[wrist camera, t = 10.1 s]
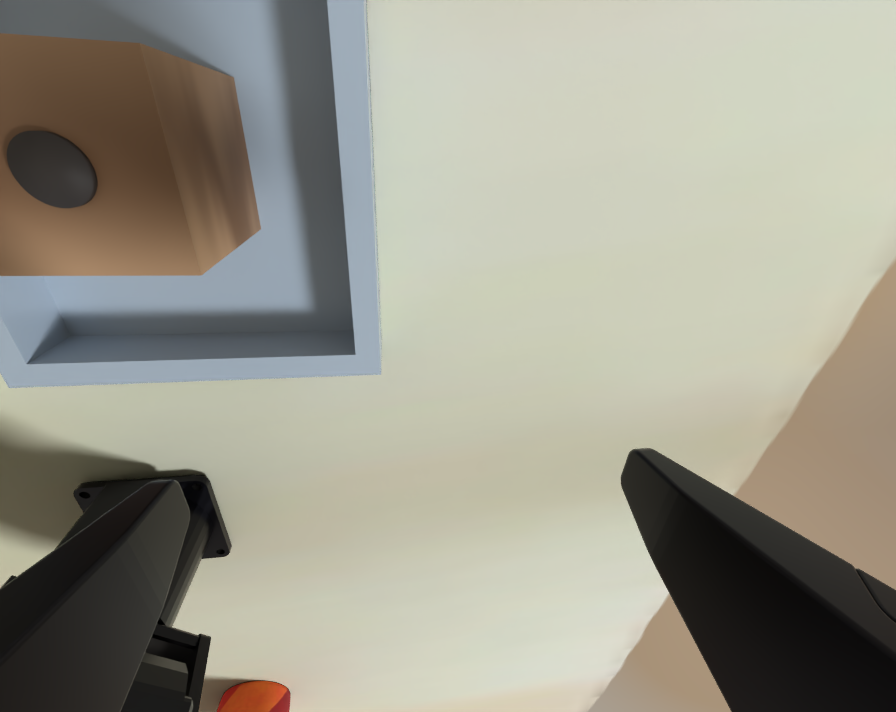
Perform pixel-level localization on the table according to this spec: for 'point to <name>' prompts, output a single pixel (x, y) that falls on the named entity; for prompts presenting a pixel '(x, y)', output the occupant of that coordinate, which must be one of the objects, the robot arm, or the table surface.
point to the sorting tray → (278, 202)
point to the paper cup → (256, 698)
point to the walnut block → (118, 161)
